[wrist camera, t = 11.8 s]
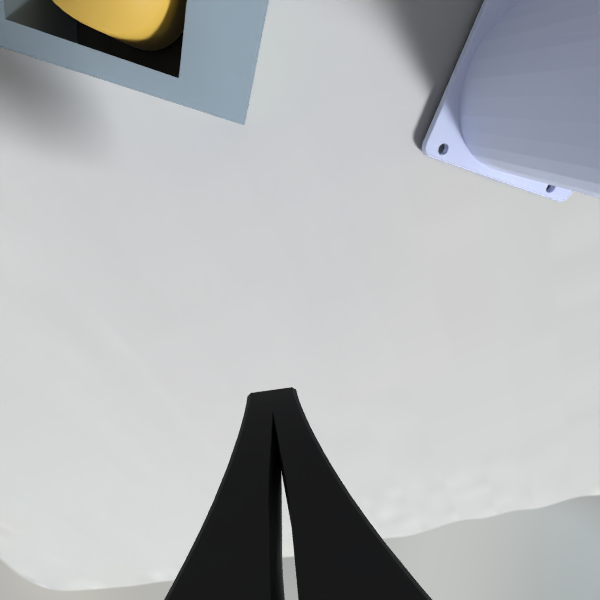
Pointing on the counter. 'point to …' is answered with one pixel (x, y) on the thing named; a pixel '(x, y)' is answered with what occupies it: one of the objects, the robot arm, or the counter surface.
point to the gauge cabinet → (184, 90)
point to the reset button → (131, 19)
